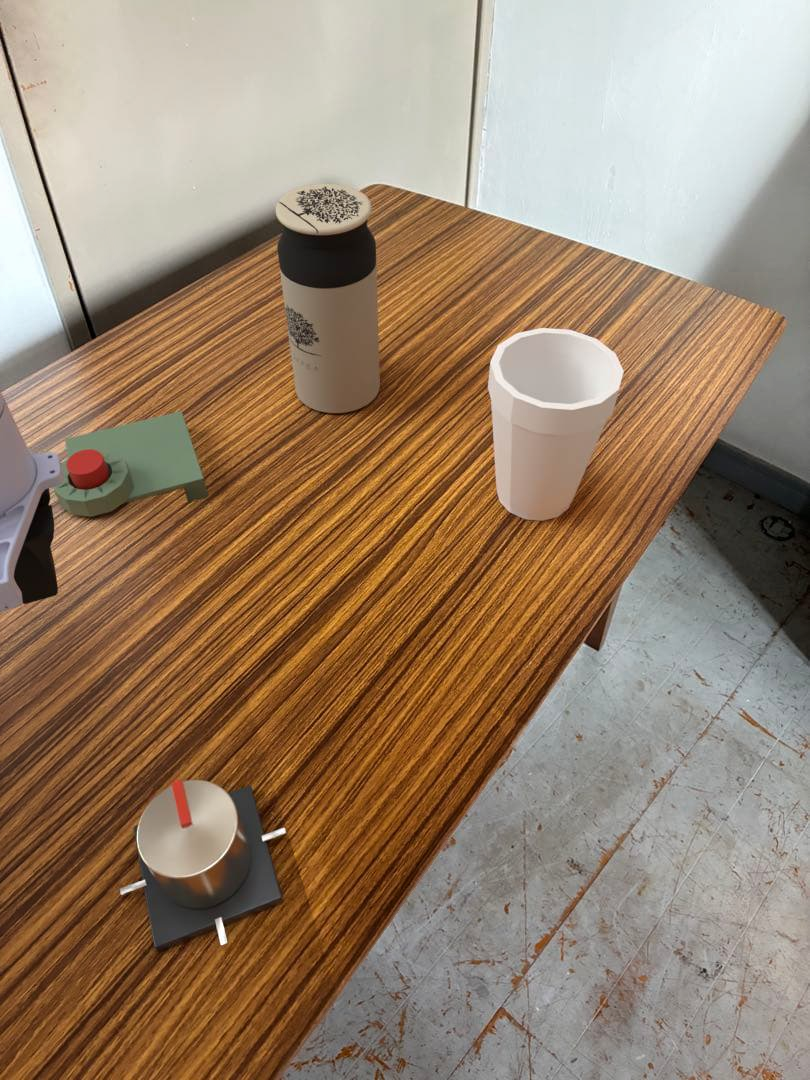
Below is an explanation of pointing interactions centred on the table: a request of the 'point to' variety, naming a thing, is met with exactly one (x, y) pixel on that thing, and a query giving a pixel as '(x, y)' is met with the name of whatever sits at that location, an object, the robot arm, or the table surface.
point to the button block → (135, 465)
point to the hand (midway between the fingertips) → (39, 591)
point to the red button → (87, 469)
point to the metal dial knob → (194, 843)
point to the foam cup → (548, 416)
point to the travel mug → (330, 296)
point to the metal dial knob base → (250, 898)
